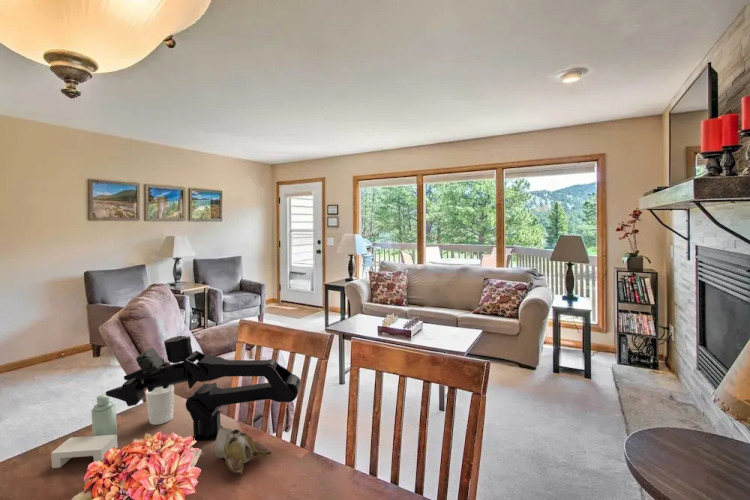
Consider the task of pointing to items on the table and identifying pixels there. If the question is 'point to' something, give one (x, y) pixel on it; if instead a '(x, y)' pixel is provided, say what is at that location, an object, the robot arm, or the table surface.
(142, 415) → the table surface
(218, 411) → the robot arm
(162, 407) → the white cup
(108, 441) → the shelf
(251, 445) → the ceramic sculpture
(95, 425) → the sage spray can
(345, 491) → the table surface
